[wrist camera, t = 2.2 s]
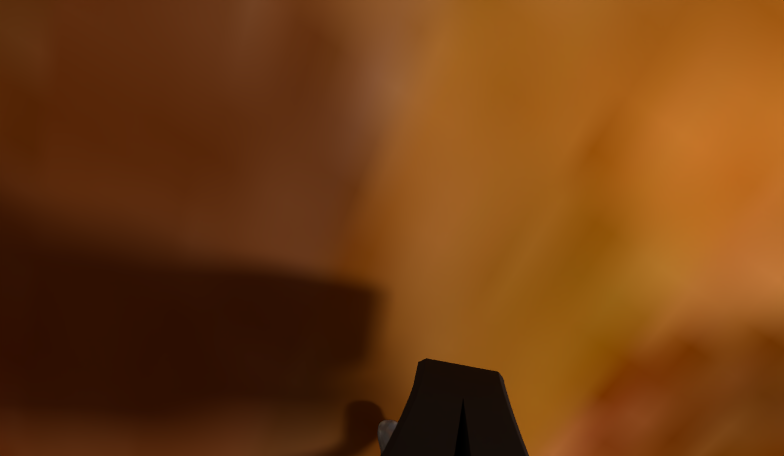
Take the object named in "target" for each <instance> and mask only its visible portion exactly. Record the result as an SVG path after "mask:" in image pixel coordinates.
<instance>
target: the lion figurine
mask: <svg viewBox="0 0 784 456" xmlns="http://www.w3.org/2000/svg"><path fill="white" fill-rule="evenodd" d="M396 425H397V422H396V421H394V420H383V421H382V422H380V423H379V426H378V441H379V445H380V449H381V454H382V452H383V451H384V449H385V447H386V445H387V443H388V441H389V439H390V437H391V435H392V433H393V431H394V429H395V427H396Z"/></svg>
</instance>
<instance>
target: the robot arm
mask: <svg viewBox="0 0 784 456" xmlns="http://www.w3.org/2000/svg"><path fill="white" fill-rule="evenodd" d="M381 456H529V454H528V452H527V449H526V447H525V444H524V442H523V439H522V436H521V434H520V431H519V428H518V425H517V423H516V420H515V417H514V414H513V411H512V408H511V405H510V401H509V398H508V395H507V391H506V388H505V384H504V380H503V378H502V376H501V375H500V373H499V372H497V371H491V370H486V369H480V368H475V367H470V366H464V365H459V364H454V363H448V362H443V361H438V360H432V359H427V358H426V359H424V360H422V361H420V362H418V366H417V371H416V375H415V380H414V385H413V388H412V391H411V393H410V396H409V399H408V401H407V403H406V406H405V408H404V410H403V413H402V415H401V417H400V419H399V421H398V423H397V425H396V427H395V429H394V431H393V433H392V435H391V437H390V439H389V441H388V443H387V445H386V447H385V449H384V451H383V452H382V454H381Z"/></svg>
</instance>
